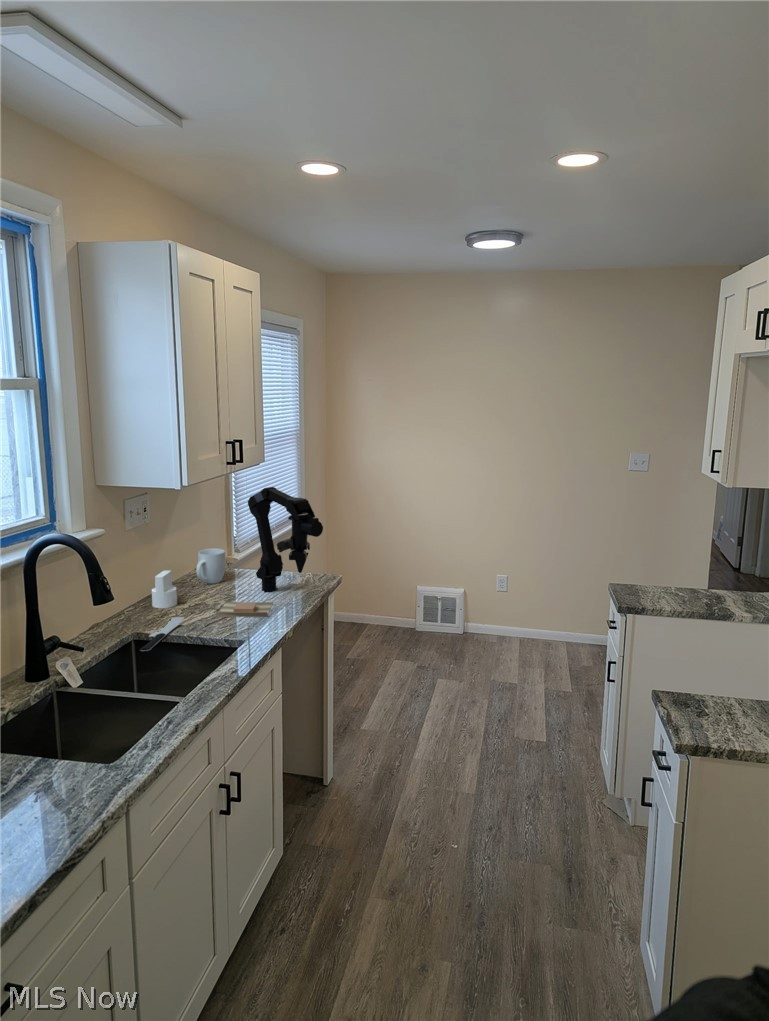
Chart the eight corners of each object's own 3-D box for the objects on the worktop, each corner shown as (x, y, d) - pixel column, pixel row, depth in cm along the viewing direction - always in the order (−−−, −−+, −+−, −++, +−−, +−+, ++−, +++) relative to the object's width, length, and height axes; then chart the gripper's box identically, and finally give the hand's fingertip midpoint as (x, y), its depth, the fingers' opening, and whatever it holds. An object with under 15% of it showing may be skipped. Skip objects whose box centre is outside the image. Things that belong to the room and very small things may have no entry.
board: (225, 604, 258) (225, 598, 258) (273, 604, 259) (273, 598, 258) (216, 619, 243) (216, 612, 242) (267, 619, 243) (266, 612, 242)
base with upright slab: (172, 608, 254) (170, 577, 251) (148, 607, 254) (146, 576, 252) (180, 600, 262) (179, 570, 260) (157, 600, 263) (156, 570, 261)
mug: (209, 589, 278) (208, 558, 275) (187, 585, 282) (186, 555, 279) (231, 579, 291) (230, 550, 289) (210, 576, 295) (209, 547, 293)
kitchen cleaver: (165, 616, 244) (192, 614, 243) (166, 620, 244) (192, 618, 243) (122, 649, 214) (152, 647, 212) (123, 654, 214) (153, 652, 212)
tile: (237, 602, 253) (233, 608, 246) (256, 602, 253) (253, 608, 246) (237, 606, 253) (233, 613, 246) (256, 606, 253) (253, 613, 246)
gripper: (281, 527, 265) (281, 566, 268) (274, 537, 247) (275, 579, 250) (309, 527, 265) (310, 566, 268) (305, 538, 247) (305, 579, 250)
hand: (300, 572), depth 259 cm, fingers closed
